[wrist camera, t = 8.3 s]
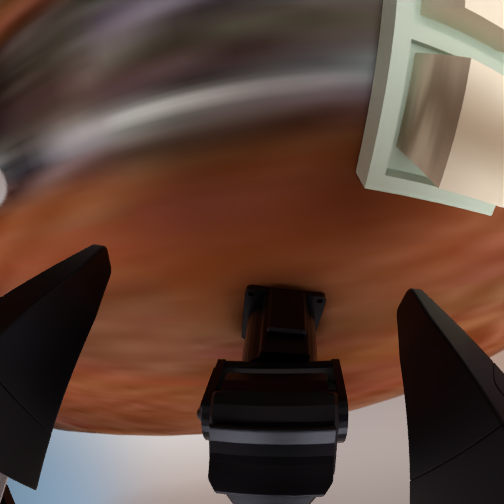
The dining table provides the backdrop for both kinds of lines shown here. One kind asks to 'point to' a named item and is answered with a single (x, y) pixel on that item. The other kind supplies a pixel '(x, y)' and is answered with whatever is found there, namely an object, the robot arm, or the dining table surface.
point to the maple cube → (456, 125)
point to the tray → (398, 80)
